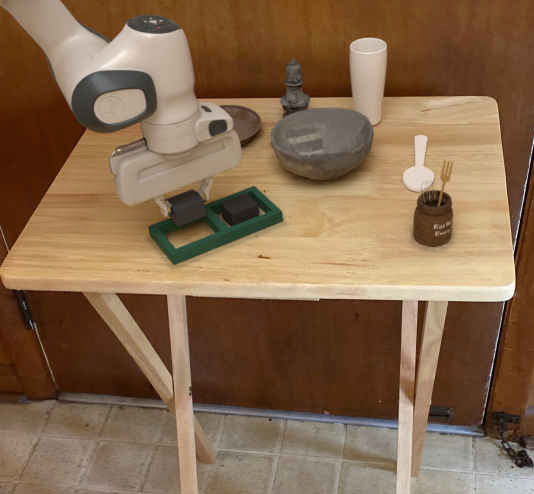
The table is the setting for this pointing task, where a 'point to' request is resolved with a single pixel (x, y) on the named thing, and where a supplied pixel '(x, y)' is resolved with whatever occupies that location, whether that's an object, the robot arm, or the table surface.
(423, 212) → the utensil holder
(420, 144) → the spoon
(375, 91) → the drinking glass
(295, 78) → the dark grey tiered figurine
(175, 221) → the pad
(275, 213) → the green divided frame
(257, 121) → the saucer
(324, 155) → the bowl
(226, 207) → the pad
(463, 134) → the table surface
